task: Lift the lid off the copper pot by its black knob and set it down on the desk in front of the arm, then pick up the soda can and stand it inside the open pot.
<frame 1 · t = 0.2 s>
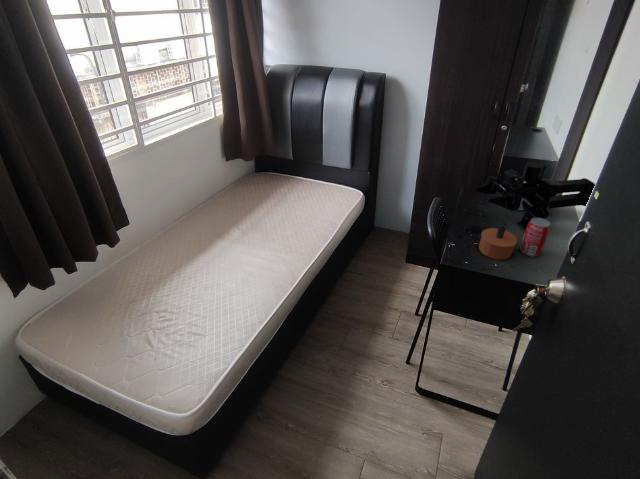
hand: (481, 194, 143), 17 cm above the table, tool horizontal, fingers open, 9 cm apart
pot: (494, 250, 142), on the table
soda can: (529, 252, 141), on the table
toilet tissue: (514, 205, 171), on the table
pot lid: (498, 238, 139), point 5 cm above the table, touching pot
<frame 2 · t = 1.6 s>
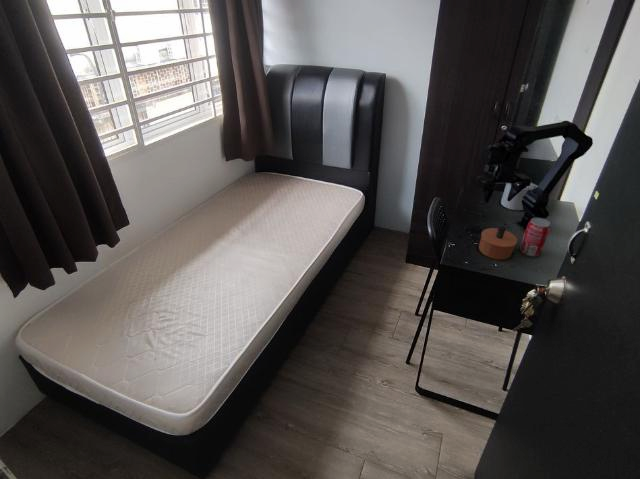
hand: (497, 201, 146), 13 cm above the table, tool pointing down, fingers open, 9 cm apart
nothing on the table moved.
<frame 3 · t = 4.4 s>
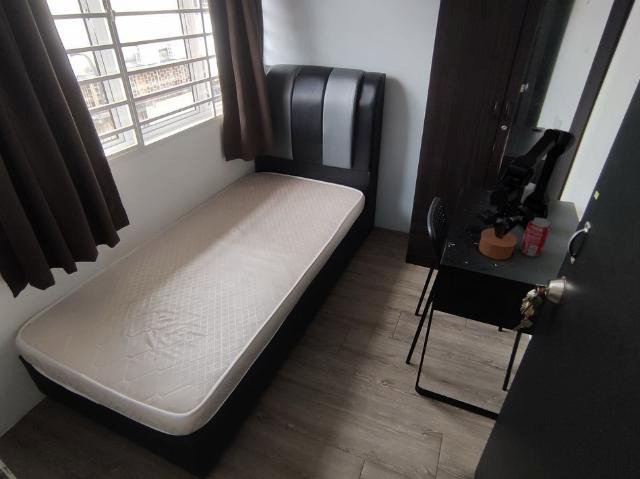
hand: (499, 235, 138), 7 cm above the table, tool pointing down, fingers closed on pot lid, 2 cm apart
pot lid: (498, 238, 139), point 6 cm above the table, touching gripper, pot
everything else where it was.
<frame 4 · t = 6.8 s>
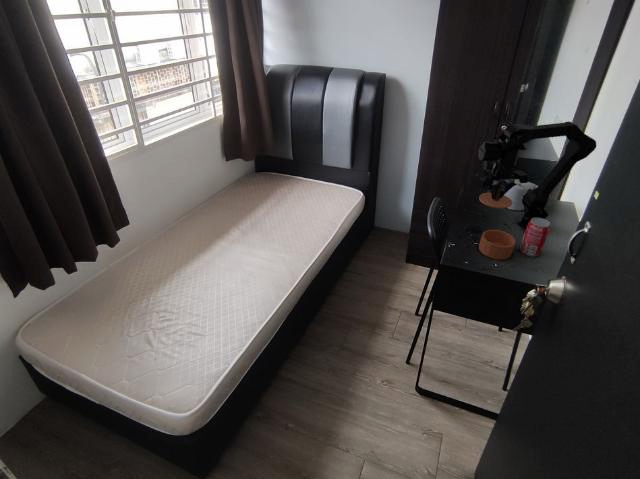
hand: (496, 198, 149), 13 cm above the table, tool pointing down, fingers closed on pot lid, 2 cm apart
pot lid: (495, 200, 149), point 12 cm above the table, touching gripper
everything else where it was.
when the fingers open (2 cm above the table, at t = 9.6 s): pot lid stays where it is, point 1 cm above the table.
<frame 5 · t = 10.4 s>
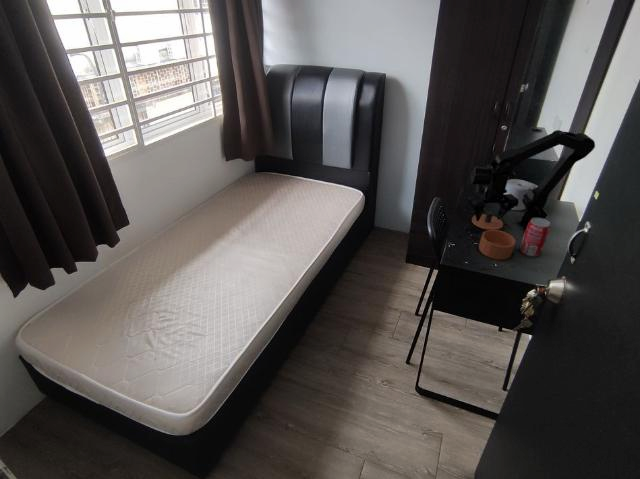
hand: (487, 220, 157), 2 cm above the table, tool pointing down, fingers open, 9 cm apart
pot lid: (487, 222, 157), point 1 cm above the table
everything else where it was.
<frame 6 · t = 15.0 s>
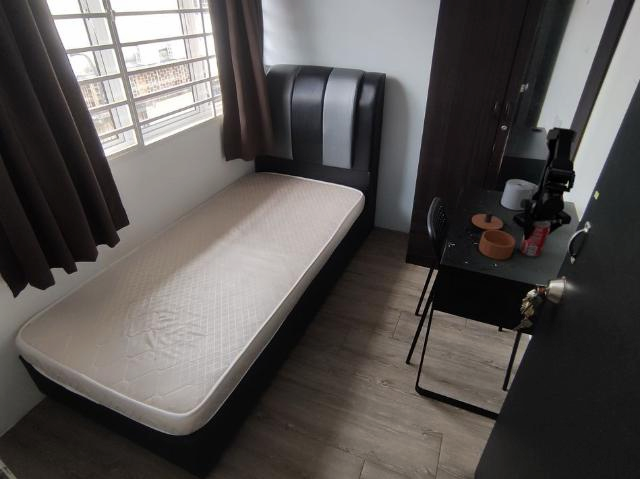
hand: (534, 239, 138), 6 cm above the table, tool pointing down, fingers closed on soda can, 6 cm apart
soda can: (529, 252, 141), on the table, touching gripper
everything else where it was.
when the fingers open (6 cm above the table, at t = 19.3 s): soda can stays where it is, resting on pot.
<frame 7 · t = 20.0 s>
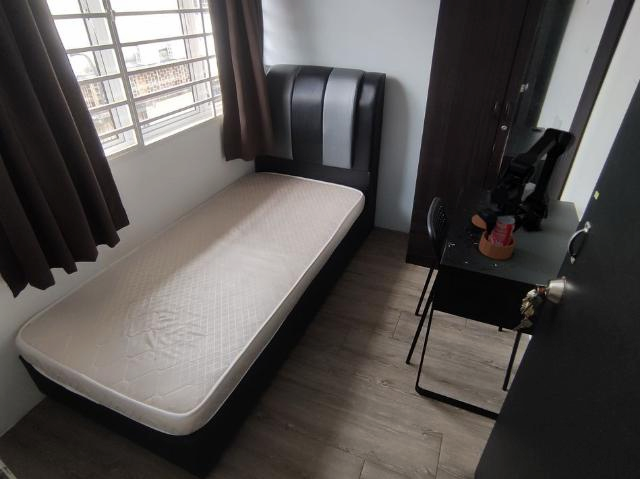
hand: (500, 234, 138), 7 cm above the table, tool pointing down, fingers open, 9 cm apart
soda can: (495, 249, 142), resting on pot
everything else where it was.
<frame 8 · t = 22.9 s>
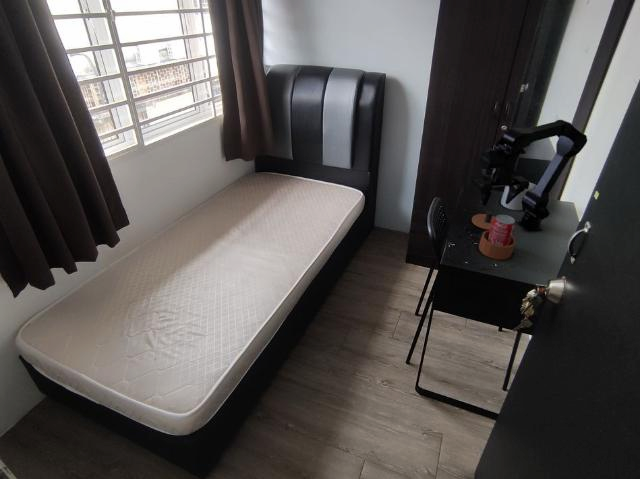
hand: (495, 204, 144), 13 cm above the table, tool pointing down, fingers open, 9 cm apart
nothing on the table moved.
at the end: pot lid inside the target area (0.0 cm from its centre), point 0.6 cm above the table; soda can 0.2 cm off-centre in the pot, point 0.3 cm above the pot's base; soda can tilted 0° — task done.
